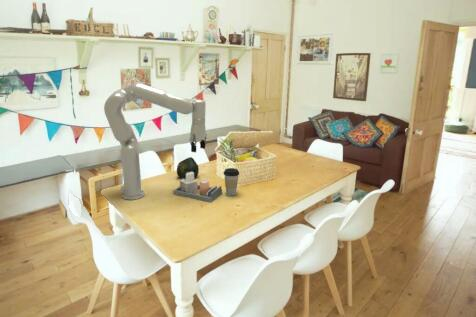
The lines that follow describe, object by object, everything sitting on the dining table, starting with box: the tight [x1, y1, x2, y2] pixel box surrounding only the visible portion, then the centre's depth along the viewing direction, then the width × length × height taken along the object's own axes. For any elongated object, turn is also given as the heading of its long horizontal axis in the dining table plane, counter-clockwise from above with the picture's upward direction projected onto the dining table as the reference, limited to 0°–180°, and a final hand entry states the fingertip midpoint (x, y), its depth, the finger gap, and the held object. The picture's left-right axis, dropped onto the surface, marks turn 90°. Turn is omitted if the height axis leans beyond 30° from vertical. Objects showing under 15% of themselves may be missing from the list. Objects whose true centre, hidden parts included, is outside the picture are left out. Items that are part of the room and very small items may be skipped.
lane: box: [172, 184, 223, 203], centre depth 191 cm, size 26×14×5 cm, turn 66°
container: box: [179, 171, 199, 194], centre depth 193 cm, size 8×8×13 cm
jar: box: [199, 179, 210, 197], centre depth 189 cm, size 6×6×9 cm
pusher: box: [206, 185, 218, 197], centre depth 188 cm, size 1×11×5 cm, turn 156°
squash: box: [176, 156, 200, 179], centre depth 216 cm, size 14×15×15 cm
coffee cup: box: [222, 167, 240, 197], centre depth 191 cm, size 9×9×15 cm
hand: (198, 150), depth 189 cm, fingers open, 9 cm apart
